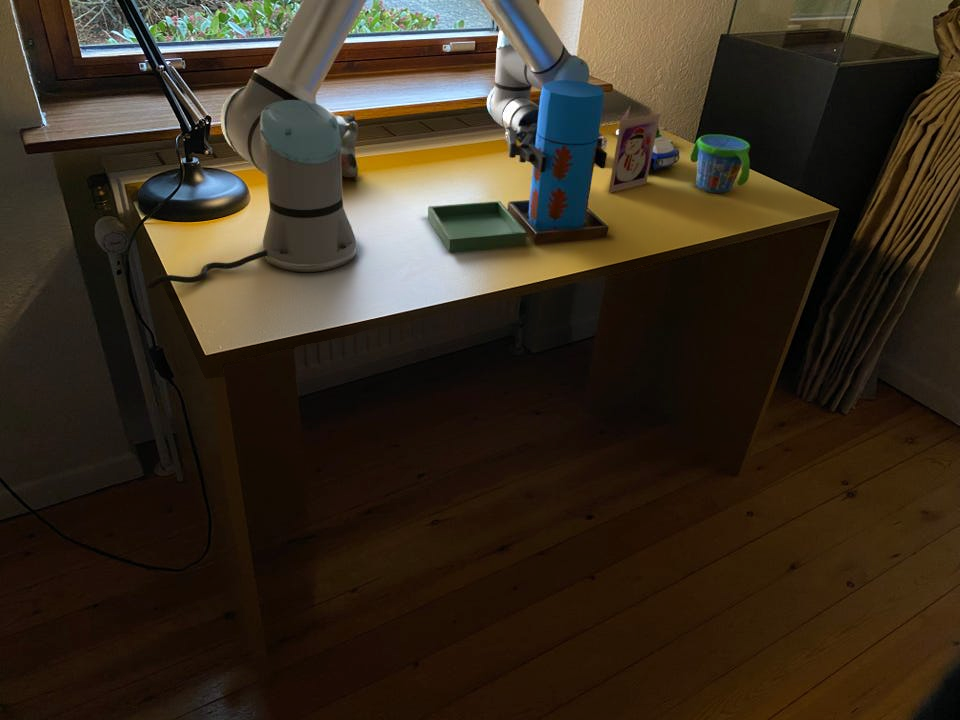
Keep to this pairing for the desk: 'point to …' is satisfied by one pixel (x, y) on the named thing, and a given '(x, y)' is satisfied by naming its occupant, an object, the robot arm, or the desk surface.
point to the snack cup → (720, 162)
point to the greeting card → (633, 151)
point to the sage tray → (476, 226)
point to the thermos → (565, 154)
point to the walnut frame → (564, 235)
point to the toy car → (663, 152)
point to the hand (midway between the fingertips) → (574, 162)
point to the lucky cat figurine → (348, 145)
